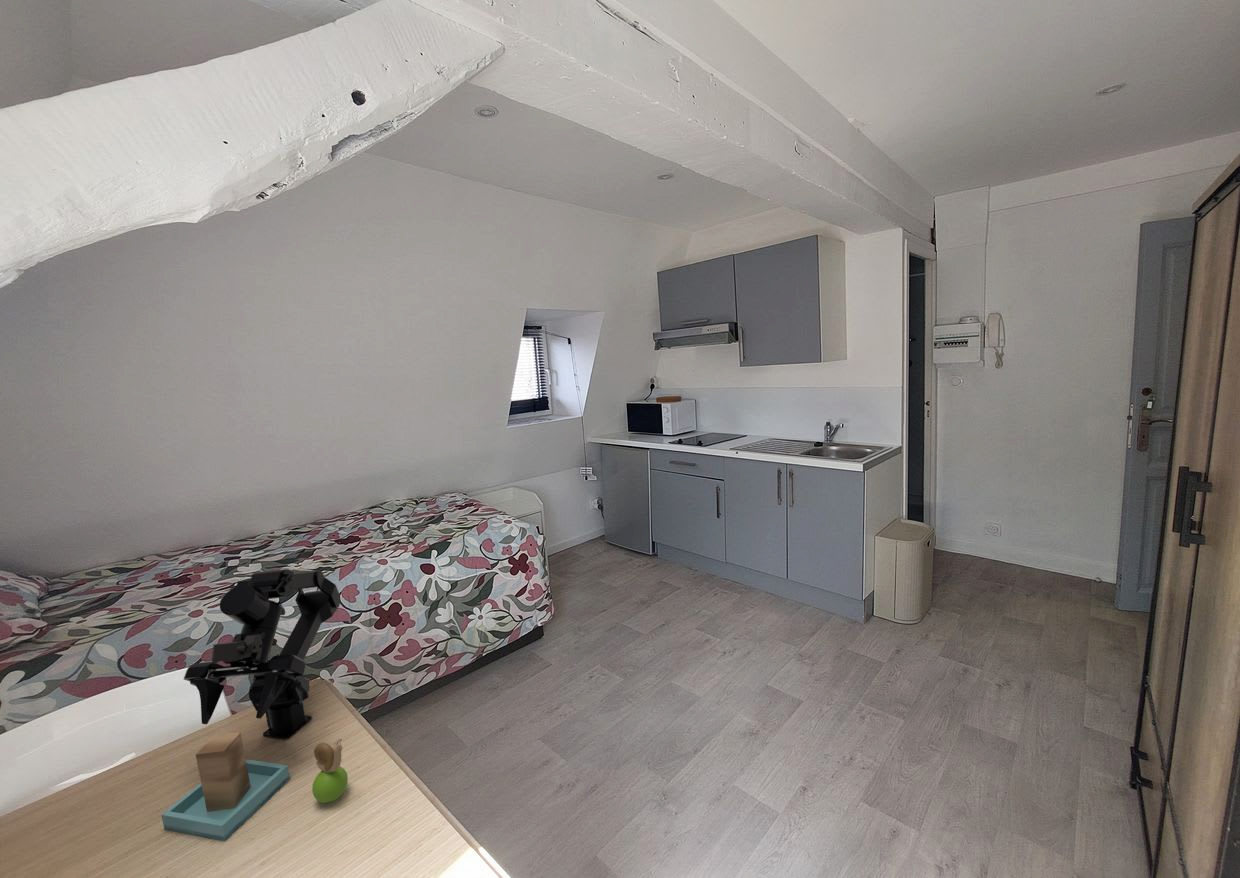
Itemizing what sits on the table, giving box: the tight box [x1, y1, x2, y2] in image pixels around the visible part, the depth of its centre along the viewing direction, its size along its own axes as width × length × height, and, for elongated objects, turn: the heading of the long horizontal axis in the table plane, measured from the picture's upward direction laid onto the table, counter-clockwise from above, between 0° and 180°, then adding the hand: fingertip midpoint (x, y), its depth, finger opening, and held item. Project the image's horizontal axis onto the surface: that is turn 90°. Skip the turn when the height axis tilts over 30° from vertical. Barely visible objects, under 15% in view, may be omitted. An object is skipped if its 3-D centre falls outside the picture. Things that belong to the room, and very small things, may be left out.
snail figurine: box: [311, 737, 349, 804], centre depth 89 cm, size 5×6×12 cm
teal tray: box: [161, 759, 291, 842], centre depth 90 cm, size 13×13×3 cm
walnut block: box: [195, 731, 251, 812], centre depth 90 cm, size 4×4×11 cm
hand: (231, 721), depth 92 cm, fingers open, 9 cm apart
